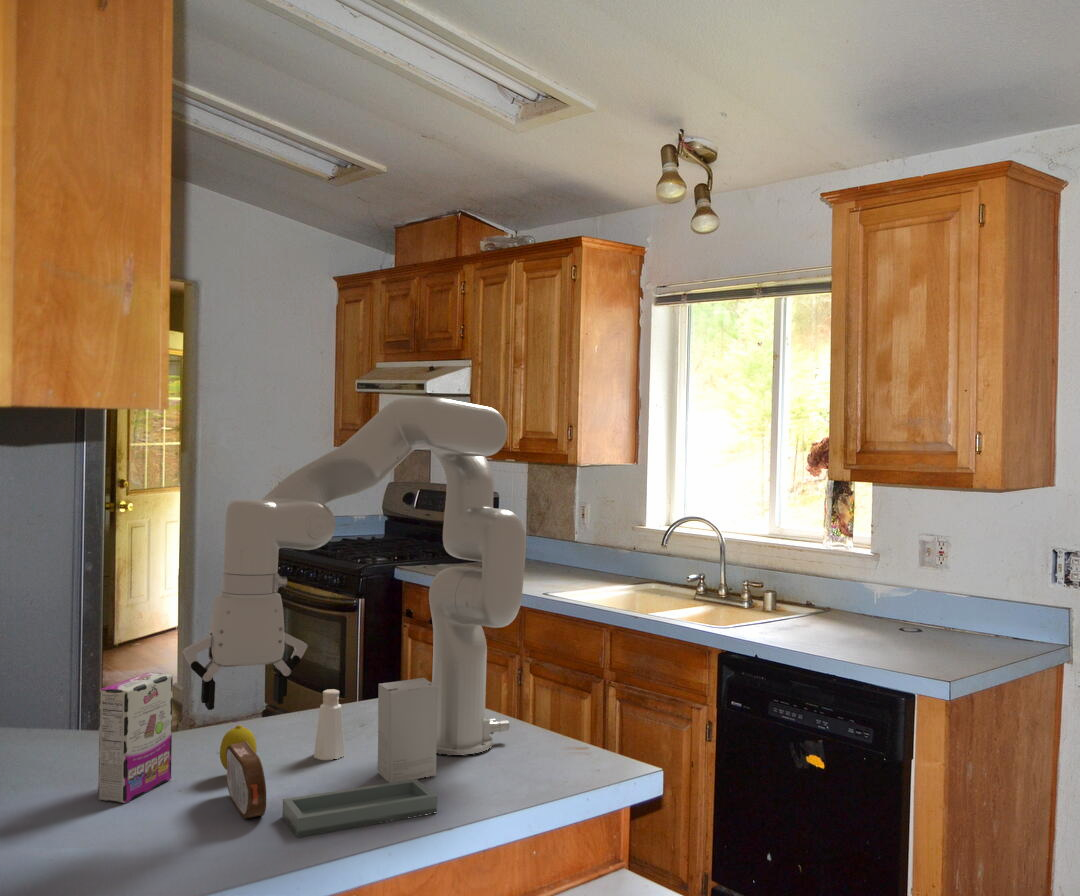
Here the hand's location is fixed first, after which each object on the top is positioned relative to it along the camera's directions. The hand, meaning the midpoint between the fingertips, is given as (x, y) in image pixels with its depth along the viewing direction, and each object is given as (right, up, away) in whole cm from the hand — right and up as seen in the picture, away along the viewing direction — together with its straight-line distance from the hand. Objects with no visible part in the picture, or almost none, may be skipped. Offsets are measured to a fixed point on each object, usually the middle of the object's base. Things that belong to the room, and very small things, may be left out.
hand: (244, 704), depth 136 cm
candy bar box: (-18, -15, +6) cm, 24 cm away
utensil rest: (+17, -15, -2) cm, 23 cm away
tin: (0, -15, 0) cm, 15 cm away
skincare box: (+21, -16, +16) cm, 31 cm away
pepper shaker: (+7, -16, +25) cm, 30 cm away
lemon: (-5, -15, +13) cm, 21 cm away
